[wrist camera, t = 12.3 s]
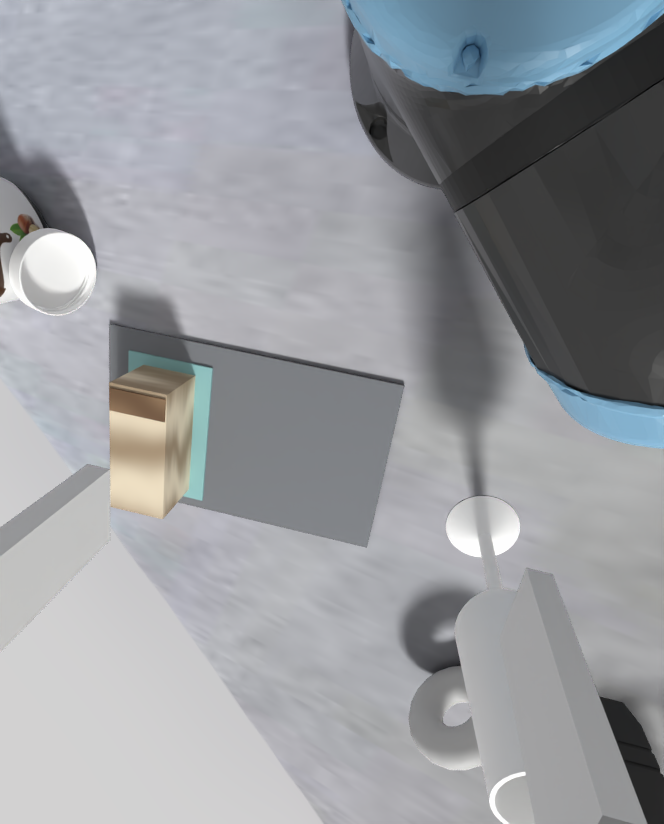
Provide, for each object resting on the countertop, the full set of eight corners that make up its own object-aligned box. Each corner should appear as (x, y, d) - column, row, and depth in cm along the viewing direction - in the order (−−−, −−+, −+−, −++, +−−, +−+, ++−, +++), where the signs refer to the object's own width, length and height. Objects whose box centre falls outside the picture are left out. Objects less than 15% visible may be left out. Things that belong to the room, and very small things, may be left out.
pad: (129, 350, 46) (128, 350, 45) (212, 367, 45) (212, 368, 45) (128, 482, 51) (127, 482, 51) (202, 499, 50) (202, 500, 50)
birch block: (188, 488, 50) (161, 520, 44) (141, 478, 50) (109, 507, 45) (195, 375, 45) (166, 395, 40) (143, 364, 46) (108, 383, 40)
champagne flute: (473, 568, 48) (519, 863, 26) (430, 519, 47) (440, 783, 25) (535, 535, 46) (643, 827, 24) (492, 482, 45) (562, 737, 23)
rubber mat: (111, 323, 45) (109, 324, 45) (404, 384, 43) (404, 385, 43) (111, 484, 52) (110, 485, 51) (367, 545, 49) (366, 547, 49)
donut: (416, 692, 55) (416, 786, 46) (404, 668, 54) (401, 760, 45) (506, 673, 52) (525, 771, 43) (495, 649, 51) (512, 743, 42)
